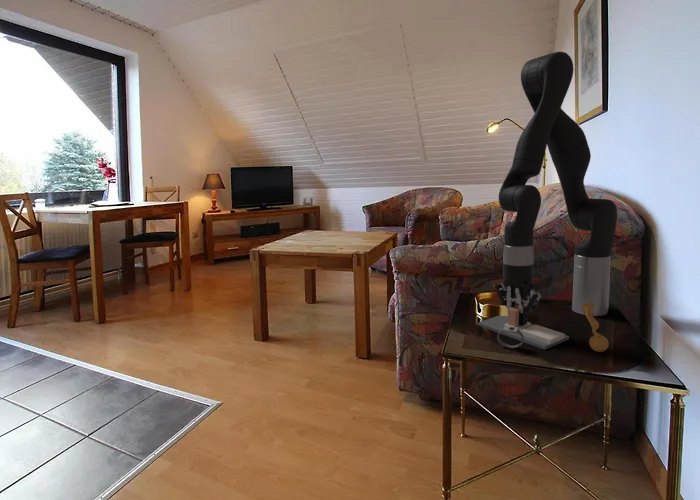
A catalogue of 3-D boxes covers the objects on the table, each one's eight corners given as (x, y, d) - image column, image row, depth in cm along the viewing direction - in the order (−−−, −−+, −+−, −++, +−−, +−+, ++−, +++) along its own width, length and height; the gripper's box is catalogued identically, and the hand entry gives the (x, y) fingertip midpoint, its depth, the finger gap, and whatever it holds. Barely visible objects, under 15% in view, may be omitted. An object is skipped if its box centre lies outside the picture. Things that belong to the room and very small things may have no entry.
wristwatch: (496, 347, 108) (496, 328, 107) (498, 343, 110) (498, 324, 109) (522, 351, 105) (523, 332, 104) (524, 347, 107) (524, 328, 106)
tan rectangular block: (518, 322, 120) (518, 303, 119) (530, 326, 117) (530, 307, 116) (504, 328, 117) (504, 308, 116) (515, 332, 114) (516, 312, 113)
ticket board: (501, 317, 128) (501, 310, 127) (569, 339, 110) (569, 331, 109) (477, 325, 123) (477, 318, 122) (544, 349, 105) (544, 341, 104)
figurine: (608, 359, 98) (611, 309, 96) (578, 355, 101) (580, 306, 99) (608, 345, 105) (610, 298, 103) (580, 341, 108) (582, 295, 106)
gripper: (551, 263, 110) (549, 327, 113) (505, 255, 121) (505, 313, 125) (532, 268, 106) (531, 334, 109) (487, 259, 117) (487, 319, 121)
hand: (517, 323), depth 117 cm, fingers closed on tan rectangular block, 2 cm apart
